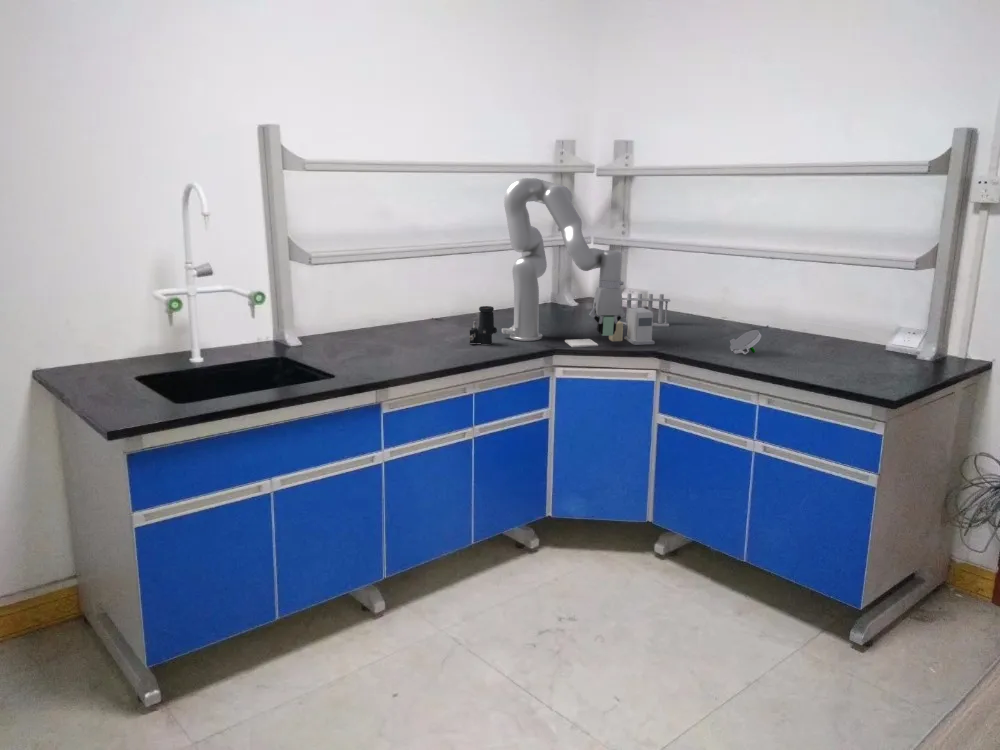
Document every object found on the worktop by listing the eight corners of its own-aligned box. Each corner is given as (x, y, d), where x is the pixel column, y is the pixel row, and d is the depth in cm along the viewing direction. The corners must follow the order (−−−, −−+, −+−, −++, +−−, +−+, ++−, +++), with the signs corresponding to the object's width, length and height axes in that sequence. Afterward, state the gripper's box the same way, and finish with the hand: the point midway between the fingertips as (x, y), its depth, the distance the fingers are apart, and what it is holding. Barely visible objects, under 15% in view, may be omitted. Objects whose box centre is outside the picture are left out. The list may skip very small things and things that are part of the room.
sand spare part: (612, 341, 295) (613, 323, 293) (608, 339, 298) (609, 321, 297) (622, 341, 295) (623, 323, 293) (618, 338, 299) (619, 321, 297)
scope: (472, 304, 291) (498, 305, 289) (472, 340, 295) (498, 341, 293) (468, 308, 283) (494, 309, 282) (468, 345, 287) (494, 346, 285)
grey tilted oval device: (723, 345, 284) (741, 320, 282) (741, 357, 285) (759, 331, 283) (736, 355, 270) (755, 328, 267) (754, 367, 271) (773, 340, 268)
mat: (572, 347, 284) (572, 345, 284) (564, 341, 294) (564, 339, 294) (598, 346, 286) (598, 344, 286) (589, 340, 296) (589, 338, 296)
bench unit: (634, 344, 289) (635, 313, 285) (624, 338, 299) (625, 308, 296) (654, 344, 290) (656, 312, 287) (643, 337, 300) (645, 307, 297)
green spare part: (602, 335, 285) (603, 317, 283) (599, 333, 289) (600, 314, 287) (612, 335, 286) (614, 316, 284) (609, 333, 290) (610, 314, 288)
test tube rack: (608, 325, 326) (610, 293, 323) (608, 323, 331) (610, 292, 327) (669, 326, 323) (671, 295, 320) (668, 324, 327) (670, 293, 324)
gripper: (627, 283, 288) (624, 331, 292) (584, 283, 284) (581, 331, 289) (634, 286, 280) (631, 335, 285) (590, 286, 277) (587, 336, 282)
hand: (606, 333), depth 287 cm, fingers closed on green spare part, 4 cm apart
